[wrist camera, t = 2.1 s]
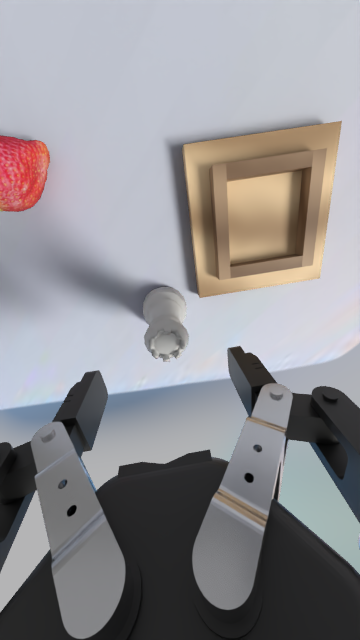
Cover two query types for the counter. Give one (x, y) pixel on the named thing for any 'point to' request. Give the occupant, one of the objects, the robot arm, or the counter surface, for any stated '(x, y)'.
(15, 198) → the fruit
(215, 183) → the display stand
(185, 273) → the counter surface
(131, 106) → the counter surface
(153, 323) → the rook chess piece
